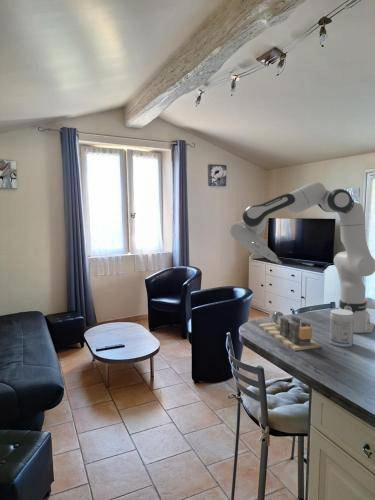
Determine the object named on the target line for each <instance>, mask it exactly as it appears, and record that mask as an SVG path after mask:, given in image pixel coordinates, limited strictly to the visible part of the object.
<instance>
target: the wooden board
mask: <svg viewBox="0 0 375 500" xmlns="http://www.w3.org/2000/svg"><path fill="white" fill-rule="evenodd" d="M291 320H293V321H295V322H297V323H299V327H306V326H309V327H310V328H311V323H309V322H307V321H305V320H304V321H303V320H302V321H301V318H299V317H297V316H295V315H293V316H291ZM300 321H301V323H300ZM300 325H301V326H300ZM258 327H259V328H261V329H262V330H263V329H264V330H263V331H265V332H266V331H267V332H266V333H268V334H269V335H270V336H272V337H273V338H274V339H276V340H278V341H280V343H282V344H283V345H285V346H287V347H288V348H289V349H291V350H292V351H303V350H311V349H317V348H321V344H320V343H318V342H317V341H315V340H314V339H304V340H302V339H300V338H299V331H298V325H297V324H295V323H290V330H289V329H288V319H286V318H284V317H283V318H280V324H276V323H275V322H269V323H259V324H258Z"/></svg>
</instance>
